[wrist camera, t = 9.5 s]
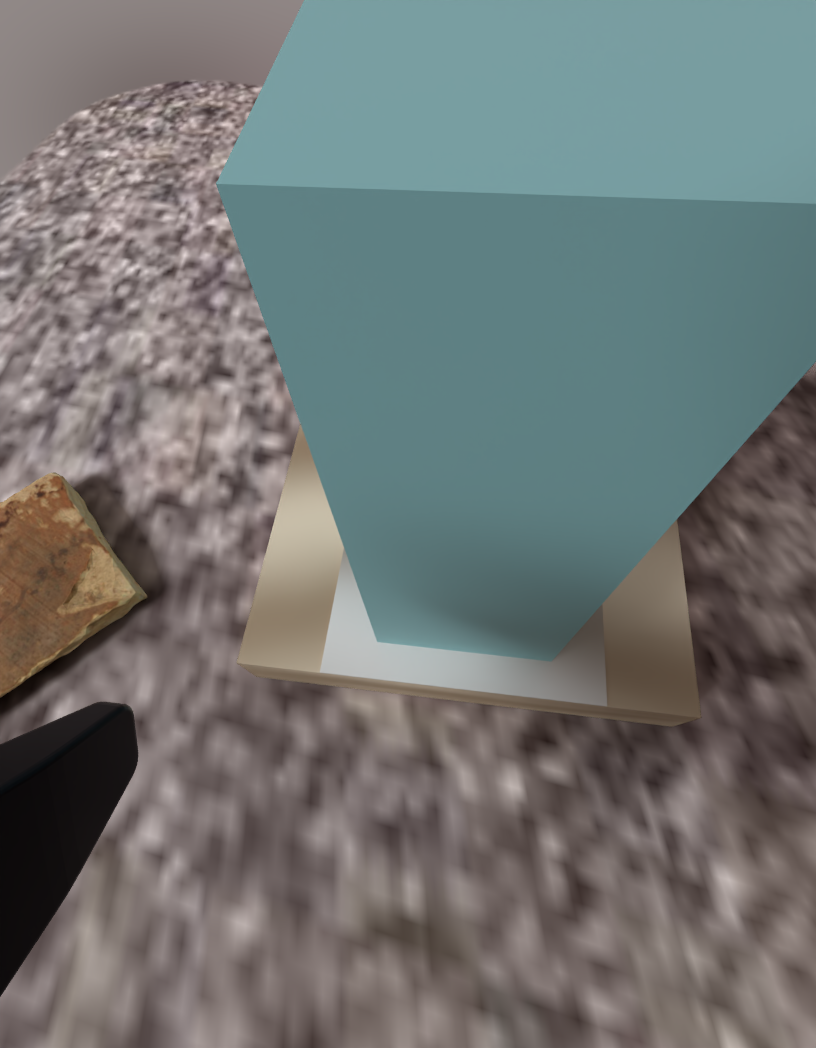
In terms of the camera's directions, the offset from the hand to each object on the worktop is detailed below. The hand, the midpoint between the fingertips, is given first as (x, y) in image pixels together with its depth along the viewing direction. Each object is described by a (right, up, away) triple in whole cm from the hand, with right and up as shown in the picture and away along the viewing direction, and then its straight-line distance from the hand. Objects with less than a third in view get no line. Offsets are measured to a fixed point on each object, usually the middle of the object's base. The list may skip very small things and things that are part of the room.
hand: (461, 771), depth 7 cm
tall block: (+1, +2, +9) cm, 10 cm away
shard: (-14, -1, +12) cm, 18 cm away
